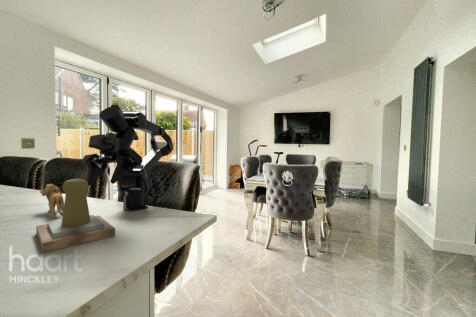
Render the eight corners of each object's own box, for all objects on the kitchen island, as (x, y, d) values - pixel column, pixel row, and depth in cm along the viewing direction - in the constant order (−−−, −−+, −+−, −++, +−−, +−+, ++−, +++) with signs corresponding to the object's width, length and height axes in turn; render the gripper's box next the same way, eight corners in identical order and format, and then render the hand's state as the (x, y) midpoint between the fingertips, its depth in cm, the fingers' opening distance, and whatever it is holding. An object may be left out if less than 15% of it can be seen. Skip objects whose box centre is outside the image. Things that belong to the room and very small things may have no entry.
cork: (91, 224, 59) (91, 180, 58) (61, 228, 55) (60, 181, 55) (89, 217, 64) (89, 177, 63) (61, 221, 60) (60, 178, 60)
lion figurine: (39, 210, 80) (38, 184, 79) (58, 207, 84) (57, 182, 83) (54, 219, 71) (53, 189, 70) (74, 215, 75) (74, 187, 75)
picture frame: (99, 222, 70) (98, 211, 69) (115, 235, 60) (115, 224, 59) (36, 233, 60) (36, 222, 60) (43, 252, 50) (42, 238, 50)
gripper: (80, 129, 74) (52, 171, 65) (127, 120, 68) (102, 165, 59) (107, 151, 82) (85, 191, 73) (151, 144, 76) (132, 187, 67)
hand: (99, 184), depth 68 cm, fingers open, 9 cm apart
